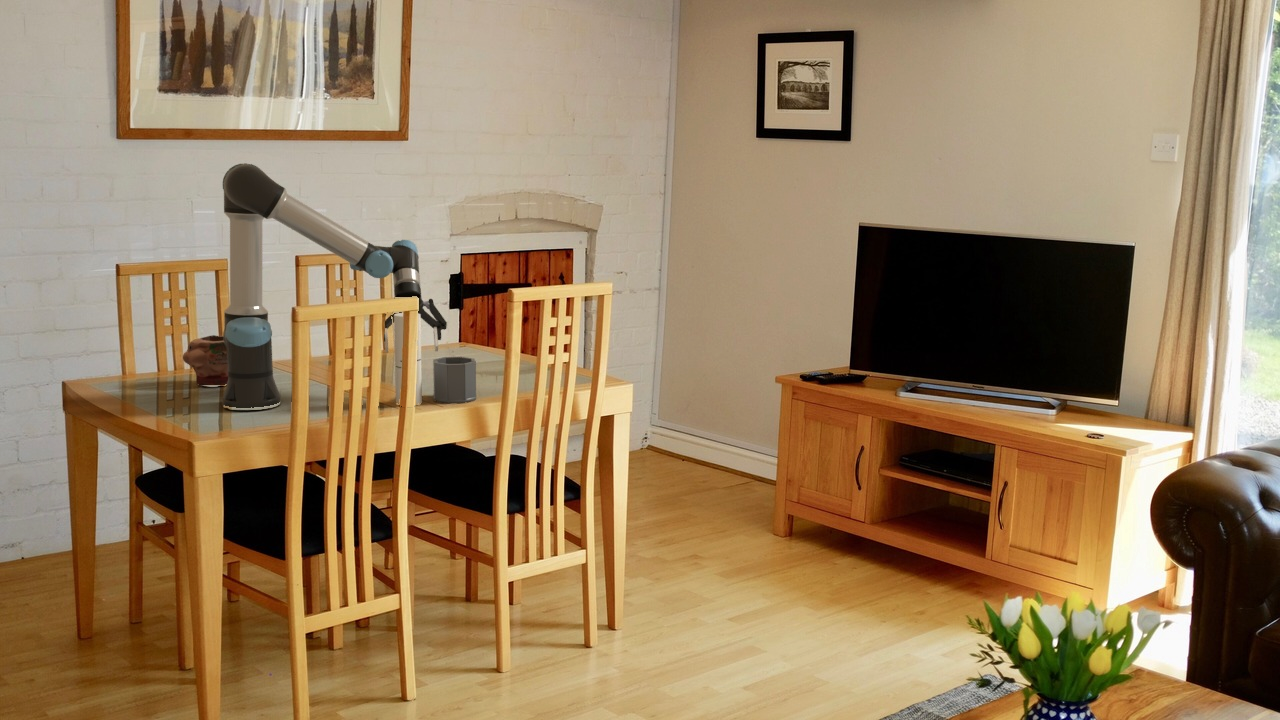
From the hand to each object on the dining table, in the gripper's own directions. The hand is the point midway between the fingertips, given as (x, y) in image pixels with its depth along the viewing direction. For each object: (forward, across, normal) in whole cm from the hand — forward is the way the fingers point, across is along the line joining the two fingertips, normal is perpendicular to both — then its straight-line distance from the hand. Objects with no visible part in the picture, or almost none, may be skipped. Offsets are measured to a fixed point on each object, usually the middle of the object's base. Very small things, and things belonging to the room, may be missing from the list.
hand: (411, 349), depth 341 cm
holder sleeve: (+9, -12, -12) cm, 19 cm away
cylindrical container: (+12, +1, -10) cm, 15 cm away
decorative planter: (-13, +54, -34) cm, 65 cm away
